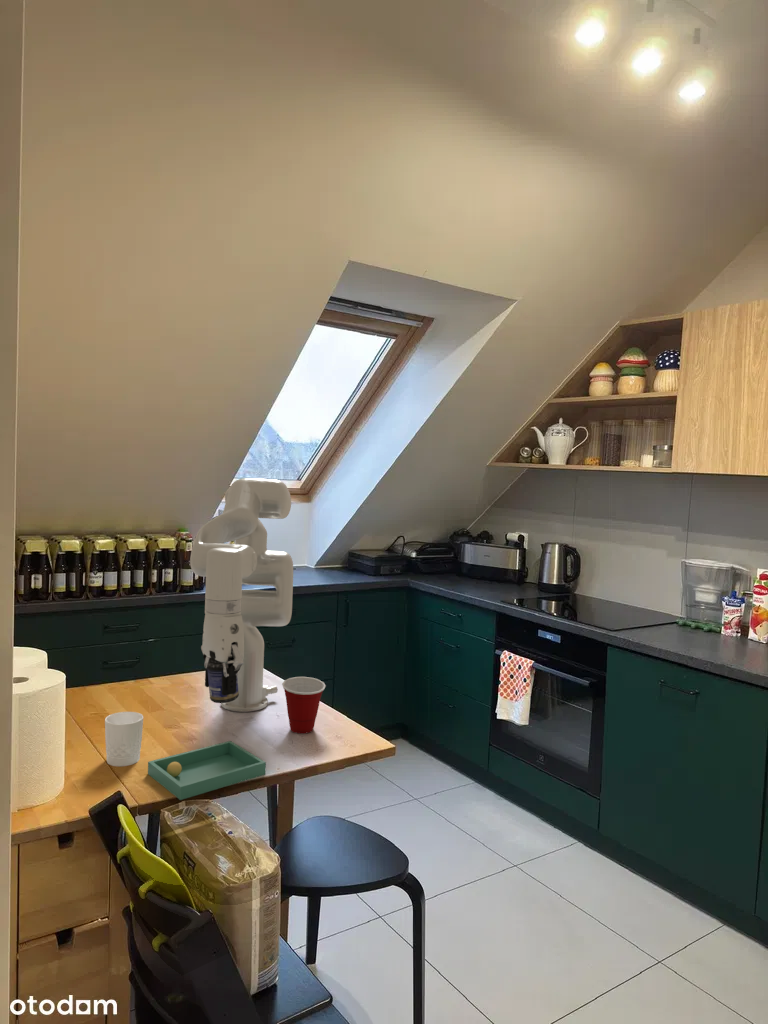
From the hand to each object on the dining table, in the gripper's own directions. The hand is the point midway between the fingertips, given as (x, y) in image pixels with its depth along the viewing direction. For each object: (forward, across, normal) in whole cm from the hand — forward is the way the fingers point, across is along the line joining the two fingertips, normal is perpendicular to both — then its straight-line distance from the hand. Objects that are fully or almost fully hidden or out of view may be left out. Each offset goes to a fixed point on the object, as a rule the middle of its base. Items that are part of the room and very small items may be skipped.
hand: (220, 689), depth 155 cm
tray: (+18, 0, +3) cm, 18 cm away
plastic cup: (+18, +10, -29) cm, 36 cm away
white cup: (+18, +17, +14) cm, 28 cm away
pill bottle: (+2, 0, -1) cm, 3 cm away
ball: (+18, +3, +9) cm, 20 cm away
